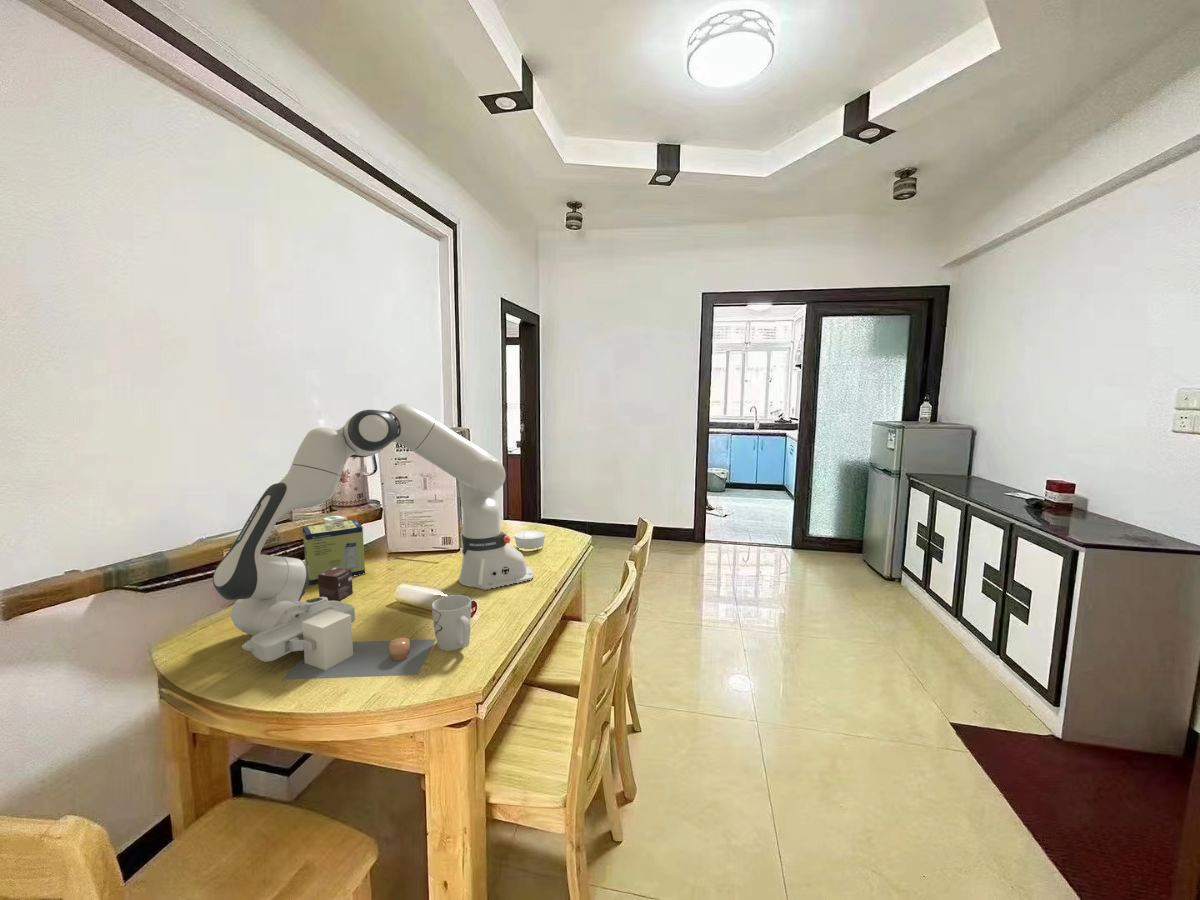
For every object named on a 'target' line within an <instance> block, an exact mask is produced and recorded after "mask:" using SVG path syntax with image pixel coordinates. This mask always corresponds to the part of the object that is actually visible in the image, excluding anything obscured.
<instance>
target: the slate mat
mask: <svg viewBox="0 0 1200 900" xmlns="http://www.w3.org/2000/svg"><path fill="white" fill-rule="evenodd" d="M391 641H392V640H374V641H373V640H371V641H368V640H367V641H365V640H364V641H352V642H353V655H352V656H351V657H349V658H347V659H345V660H343V661H341V662H340V663H338V664H336V665H334V666H332V667H330V668H329V669H327V670H323V669H320V668H318V667H315V666H312V665H309V664H306V663H305V659H304V657H302V658H301V660H299V661H298V662H297V664H295V665H294V666H293V668H291V669H290V670H289V671H288V672H287V674H285V675H284V676H283V677H282V679H281V680H283V681H284V680H304V679H305V680H306V679H333V678H334V679H335V678H337V679H338V678H357V677H358V678H359V677H362V678H363V677H383V676H384V677H386V676H387V677H388V676H389V677H390V676H411V675H412V676H414V675H419V673H420V671H421V668H422V667H423V665H424V663H425V662H426V659H427V657H428V656H429V654H430V652H431V650H432V647H433V646H434V644H435V643H436V641H437V639H436V638H435V639H434V638H431V639H428V638H427V639H409V641H410V653H409V654H408V657H407V658H405V659H403V660H399V661H396V660H393V659H392V657H390V651H389V643H390V642H391Z"/></svg>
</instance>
